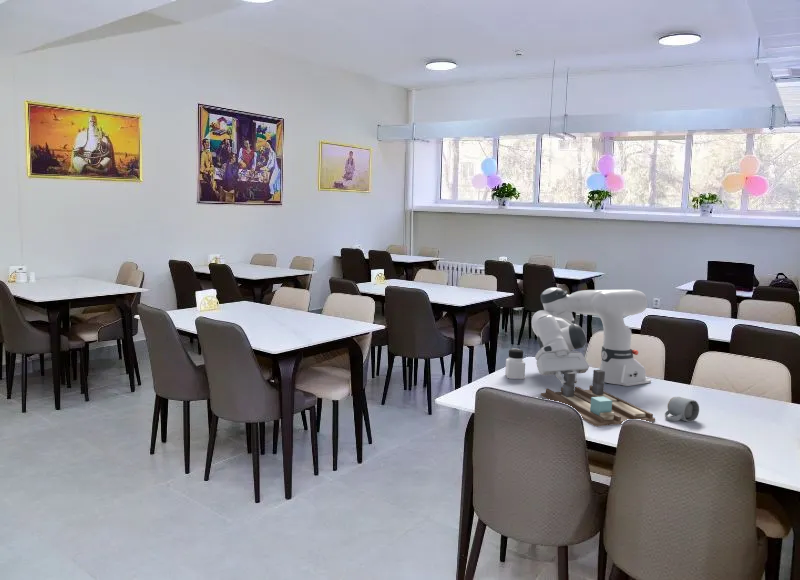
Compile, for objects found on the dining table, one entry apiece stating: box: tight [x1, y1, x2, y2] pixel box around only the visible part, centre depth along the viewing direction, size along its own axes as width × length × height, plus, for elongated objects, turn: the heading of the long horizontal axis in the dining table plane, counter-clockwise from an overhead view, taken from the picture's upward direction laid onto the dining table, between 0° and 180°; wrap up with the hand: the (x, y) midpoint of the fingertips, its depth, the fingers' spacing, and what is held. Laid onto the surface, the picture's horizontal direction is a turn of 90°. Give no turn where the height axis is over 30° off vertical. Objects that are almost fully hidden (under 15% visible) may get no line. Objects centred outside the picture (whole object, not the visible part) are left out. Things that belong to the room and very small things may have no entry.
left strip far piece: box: [612, 401, 646, 417], centre depth 230 cm, size 5×14×1 cm, turn 18°
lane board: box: [540, 385, 656, 427], centre depth 236 cm, size 24×36×3 cm, turn 18°
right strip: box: [561, 371, 614, 420], centre depth 231 cm, size 5×26×10 cm, turn 18°
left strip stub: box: [591, 369, 617, 402], centre depth 242 cm, size 5×10×10 cm, turn 18°
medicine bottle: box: [504, 348, 526, 380], centre depth 275 cm, size 7×7×12 cm
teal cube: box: [590, 396, 612, 416], centre depth 222 cm, size 5×5×5 cm
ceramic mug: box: [664, 396, 700, 423], centre depth 226 cm, size 11×8×8 cm
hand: (569, 383), depth 241 cm, fingers closed on right strip, 3 cm apart
